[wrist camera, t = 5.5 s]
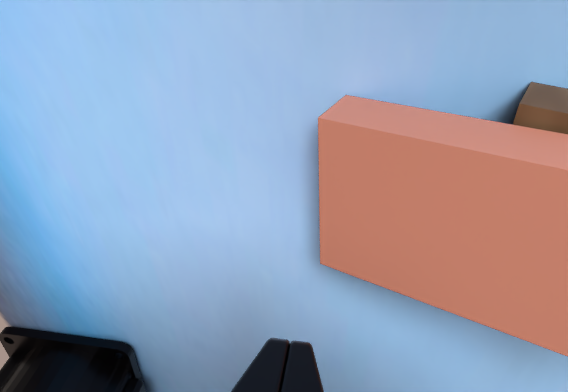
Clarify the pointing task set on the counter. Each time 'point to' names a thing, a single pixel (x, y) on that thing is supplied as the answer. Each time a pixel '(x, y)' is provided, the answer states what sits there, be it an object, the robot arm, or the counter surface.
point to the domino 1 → (449, 213)
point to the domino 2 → (544, 108)
